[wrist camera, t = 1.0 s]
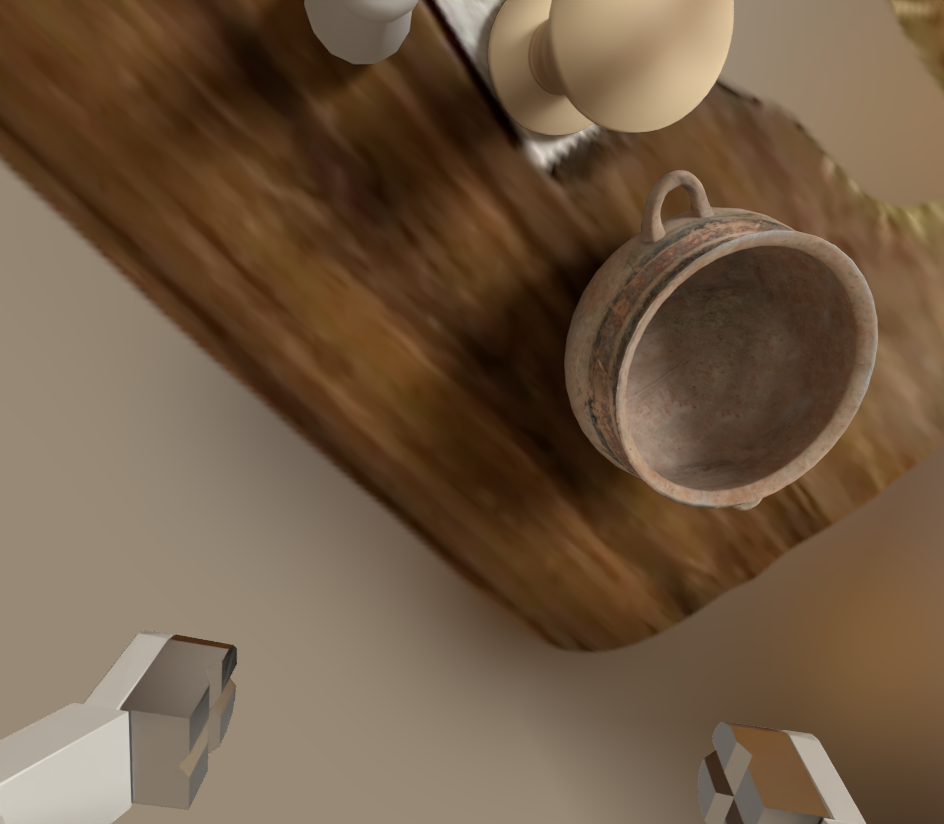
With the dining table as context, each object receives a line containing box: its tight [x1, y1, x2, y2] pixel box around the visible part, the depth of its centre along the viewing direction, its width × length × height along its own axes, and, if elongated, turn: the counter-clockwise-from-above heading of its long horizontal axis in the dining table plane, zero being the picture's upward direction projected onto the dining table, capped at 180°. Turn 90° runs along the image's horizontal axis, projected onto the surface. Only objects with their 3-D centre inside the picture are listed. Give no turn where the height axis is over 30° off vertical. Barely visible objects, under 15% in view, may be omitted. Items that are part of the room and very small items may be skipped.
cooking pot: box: [564, 170, 878, 510], centre depth 44 cm, size 25×19×12 cm
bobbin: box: [488, 0, 734, 135], centre depth 36 cm, size 9×9×12 cm
